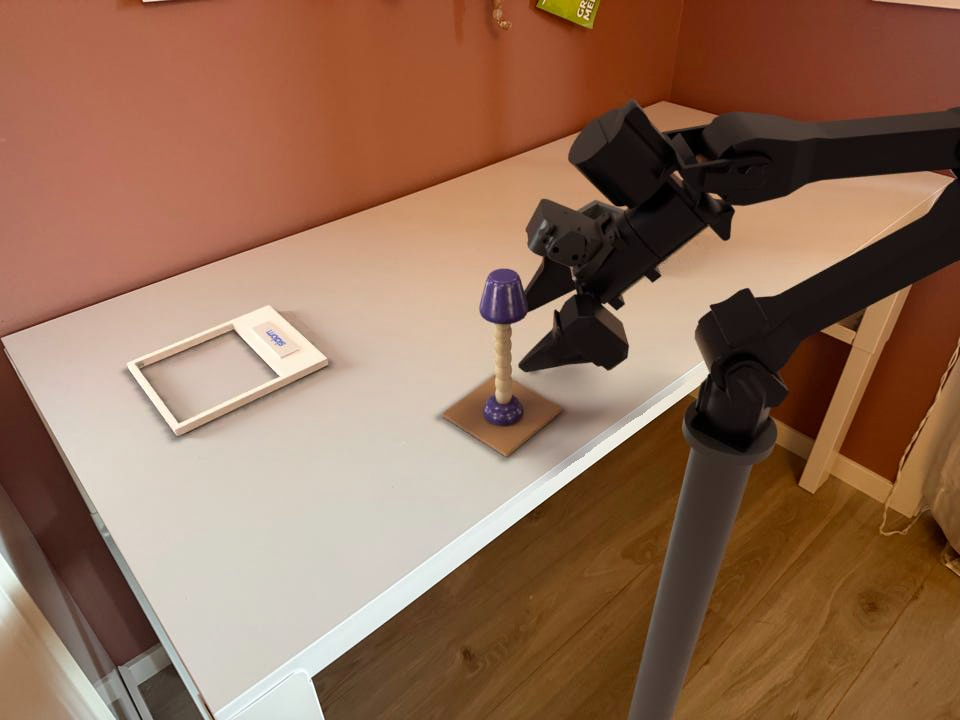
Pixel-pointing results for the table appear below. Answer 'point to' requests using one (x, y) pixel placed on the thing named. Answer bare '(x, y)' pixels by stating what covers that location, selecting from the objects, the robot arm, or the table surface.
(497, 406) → the toy lamp
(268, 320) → the photo frame
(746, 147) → the robot arm
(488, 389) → the cork pad
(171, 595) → the table surface
